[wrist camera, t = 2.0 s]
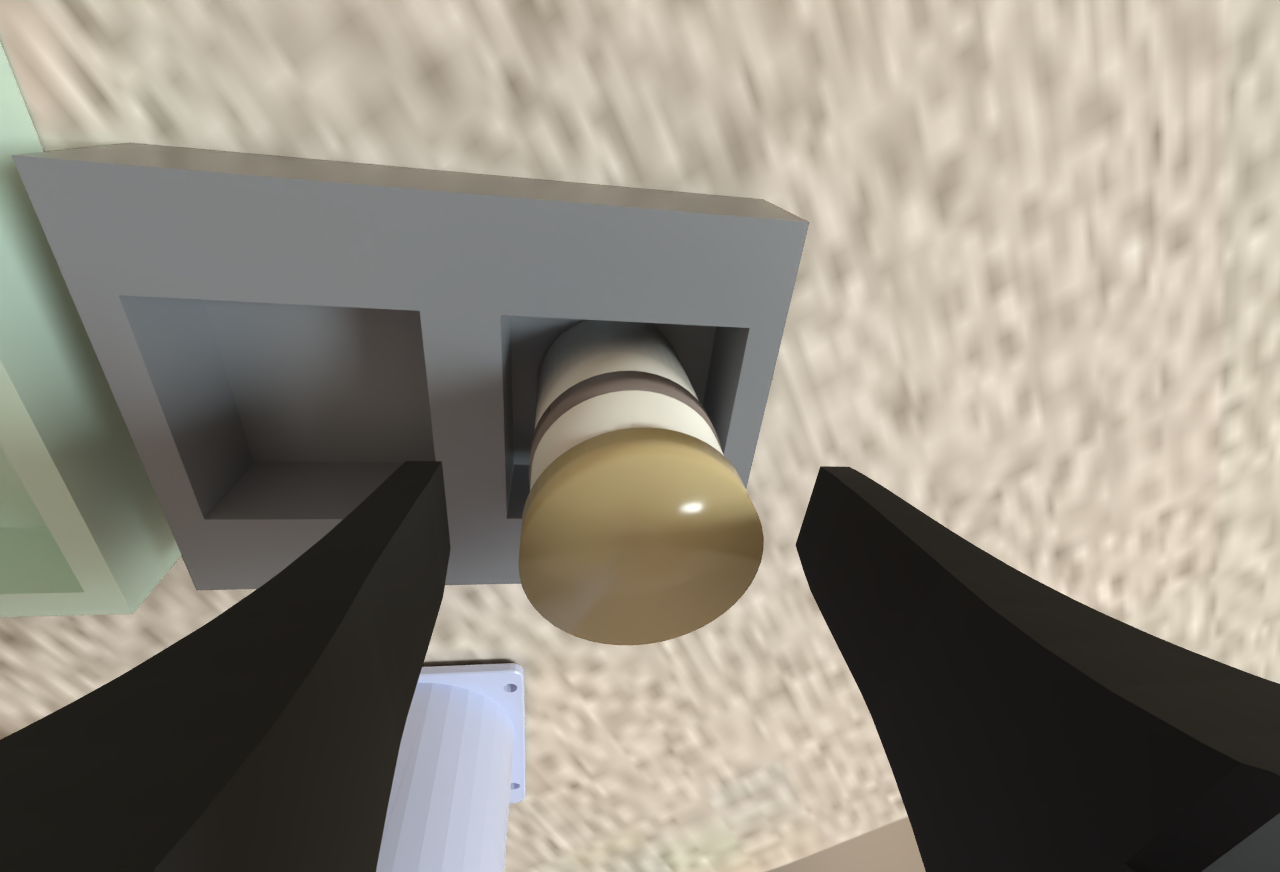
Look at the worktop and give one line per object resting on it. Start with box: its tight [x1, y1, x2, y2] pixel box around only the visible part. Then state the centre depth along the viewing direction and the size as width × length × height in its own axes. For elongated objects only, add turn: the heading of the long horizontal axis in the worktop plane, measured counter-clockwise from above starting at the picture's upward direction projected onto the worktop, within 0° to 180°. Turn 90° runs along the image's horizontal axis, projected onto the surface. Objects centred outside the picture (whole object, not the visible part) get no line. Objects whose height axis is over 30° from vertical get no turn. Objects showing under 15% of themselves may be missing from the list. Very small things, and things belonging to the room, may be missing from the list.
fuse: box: [518, 320, 763, 645], centre depth 13 cm, size 4×4×7 cm
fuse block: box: [11, 143, 809, 590], centre depth 14 cm, size 10×14×3 cm
